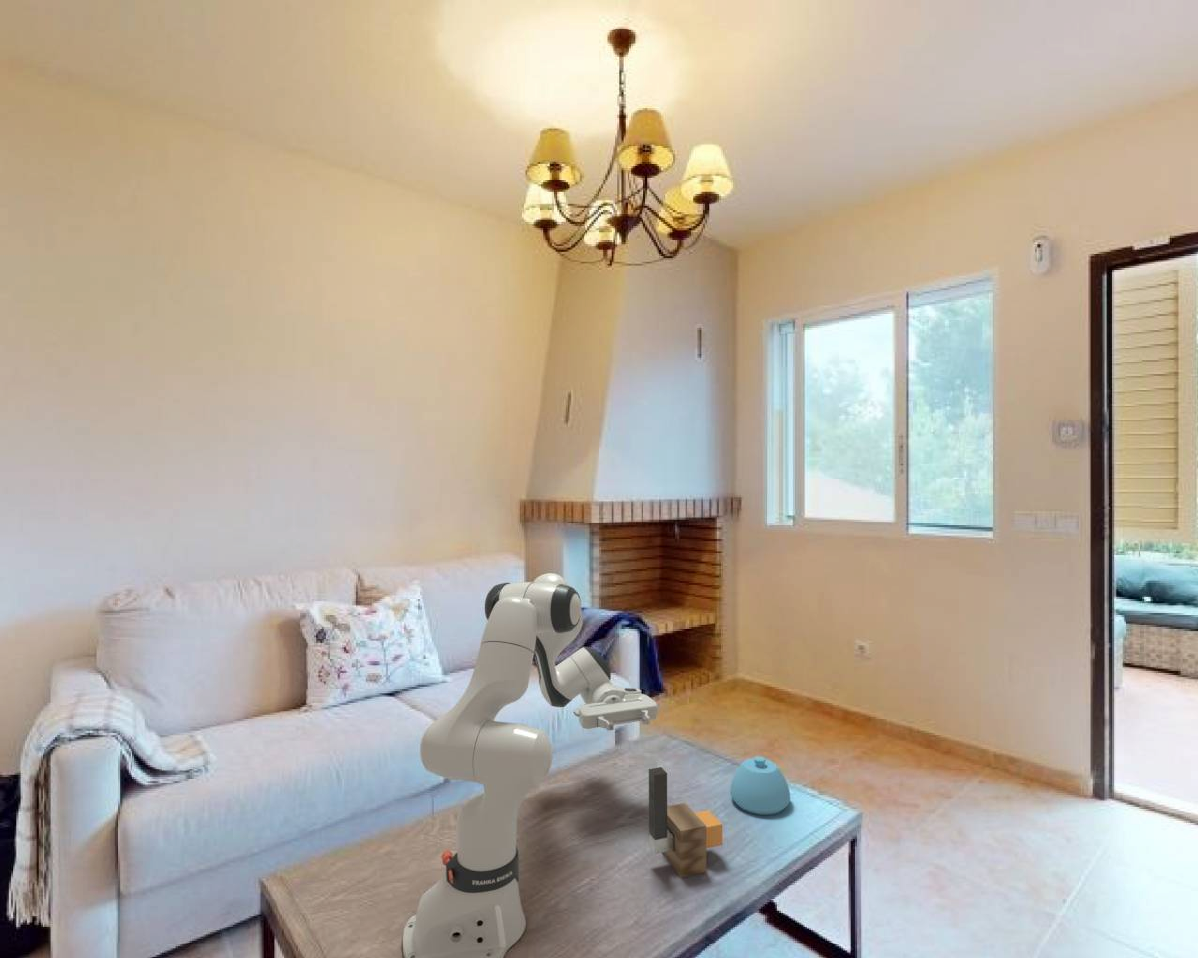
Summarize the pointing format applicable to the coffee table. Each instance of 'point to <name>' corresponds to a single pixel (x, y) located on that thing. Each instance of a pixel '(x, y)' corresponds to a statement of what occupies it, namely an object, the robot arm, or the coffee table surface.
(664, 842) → the grey l-shaped piece
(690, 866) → the bearing block
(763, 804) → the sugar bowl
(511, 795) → the robot arm
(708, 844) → the block
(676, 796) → the coffee table surface
